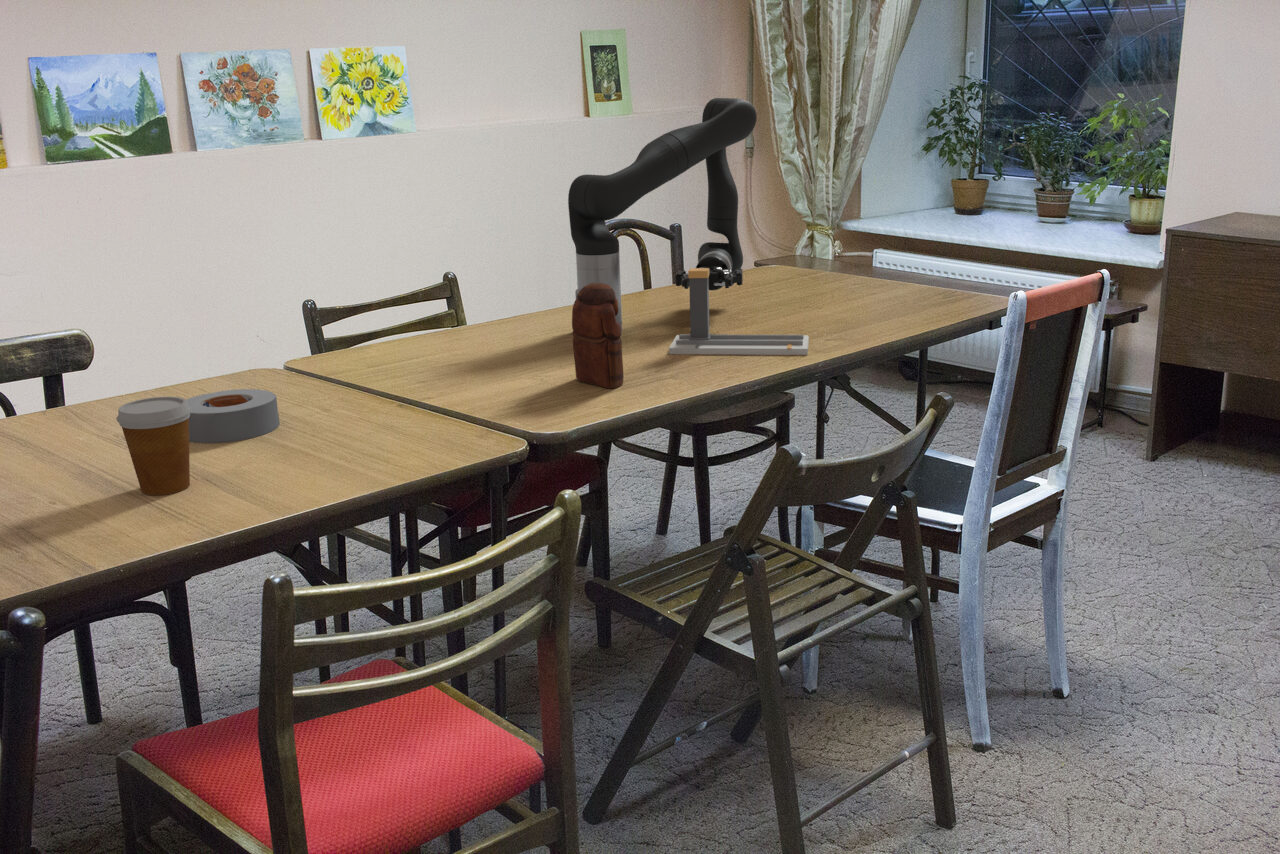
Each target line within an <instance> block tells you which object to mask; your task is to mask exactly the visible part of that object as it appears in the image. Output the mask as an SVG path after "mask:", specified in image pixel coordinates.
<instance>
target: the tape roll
mask: <svg viewBox="0 0 1280 854" xmlns="http://www.w3.org/2000/svg"><path fill="white" fill-rule="evenodd" d="M185 400H186V401H187V404H188V406H189V407H190V408H191V413H190V417H189V443H190V442H191V443H199V444H222V443H223V444H224V443H231V442H239V441H244V440H249V439H253V438H254V439H255V438H257V437H260V436H264V435H266V434H269V433H272V432H273V431H275V430H276V429H278V428H279V427H280V423H281V422H280V416H279V415H280V414H279V409H278V407H279V406H278V399H277V395H276V393H273V392H272V391H269V390H266V389H265V390H264V389H259V388H237V389H227V390H221V391H214V392H208V393H203V394H199V395H196V396H192V397H189V398H186V399H185Z"/></svg>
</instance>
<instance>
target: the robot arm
mask: <svg viewBox="0 0 1280 854" xmlns="http://www.w3.org/2000/svg"><path fill="white" fill-rule="evenodd" d="M703 108H704V109H703V112H702V116H701V117H702V118H701V120H702V122H700V123H699V122H698V123H696V124H691V125H687V126H683V127H679V128H676V129H673V130H670V131H668V132H666V133H664V134H662V135H660V136H658V137H656V138H655V139H652V141H650V142H648V143H647V144H646V145H645V146H644V147H642V148H641V150H640V151H639V153H638V154H637V157H636V158H635V161H633V163H632V164H630V165H629V166H626V167H624V168H621V170H619V171H616V172H613V173H612V174H611V173H610V174H606V175H602V174H582V175H579V176H577V177H576V178H574V179H573V181H572V182H571V184H570V186H569V190H568V195H567V196H568V199H567V201H568V202H567V205H568V216H569V228H570V234H571V239H572V241H573V243H574V246H575V260H576V263H575V264H576V281H577V282H576V284H577V288H576V289H575V292H574V293H575V300H576V299H577V295H578V293H579V291H580V290H581V289H582V288H583V287H584V286H586V285H588V284H591V283H604V284H607V285H609V286H611V287H612V288H613V290H614V291H615V295H616V298H617V300H618V309H619V311H618V314H617V316H615V318H616V321H617V322H618V323H620V325H621V333H622V332H623V318H622V316H623V315H622V313H623V312H622V310H623V309H622V289H621V287H622V286H621V263H620V262H621V261H620V260H621V259H620V241H619V238H618V237H617V236H615V235H614V234H613V233H612V232H611V231H610V230H609V229H608V227H607V224H606V221H610V220H613V219H615V218H617V217H618V216H620V215H621V214H623V213H624V212H626V210H628V209H629V208H630V207H632V206H633V205H634V204H635V203H636V202H638V201H640V199H642V198H643V197H644V196H645V195H648V194H649V193H651V192H653V191H655V190H656V189H658V188H660V187H662V186H663V185H664V184H666V183H668V182H670V181H672V180H674V179H676V178H677V177H678V176H680V175H682V174H683V173H685V172H686V171H688V170H690V169H691V168H692V167H694V166H696V165H697V164H699V163H700V162H702V161H704V160H705V165H706V167H705V168H706V174H707V191H708V192H707V218H706V226H707V229H708V231H710V232H712V233H716V234H720V235H723V236H724V237H725V238H726V239H727V242H714V241H713V242H711V241H709V242H704V243H703V244H701V245H700V248H699V250H698V253H697V264H696V266H695V268H709V291H718V290H720V289H723V288H724V289H729V288H730V287H733V286H734V284H736V286H742V285H743V280H744V279H743V278H744V277H743V275H744V274H743V272H744V271H743V268H742V267H743V264H744V256H743V250H742V246H741V243H740V237H739V230H738V217H739V215H738V213H739V211H738V210H739V194H738V189H737V186H736V182H735V180H734V176H733V175H732V172H731V169H730V165H729V163H728V159H727V158H728V157H727V147H730V146H732V145H734V144H737V143H739V142H741V141H744V140H745V139H747V137H749V136H750V135H751V133H752V132H753V131H754V129H755V126H756V125H757V124H756V123H757V118H758V117H757V116H758V114H757V110H756V108H755V106H754V105H753V104H752V103H751V102H750V101H748V100H745V99H742V98H735V97H734V98H733V97H732V98H731V97H715V98H711V99H710V100H709V101H708V102H707V103H706V104H705V106H704V107H703ZM674 276H675V278H674V279H675V286H676V287H680V286H681V287H682V288H684V289H685V290H688V289H690V286H689V278H688V272H687V271H686V270H685V269H680V270H678V271H677V272H676V273H675V275H674Z"/></svg>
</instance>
